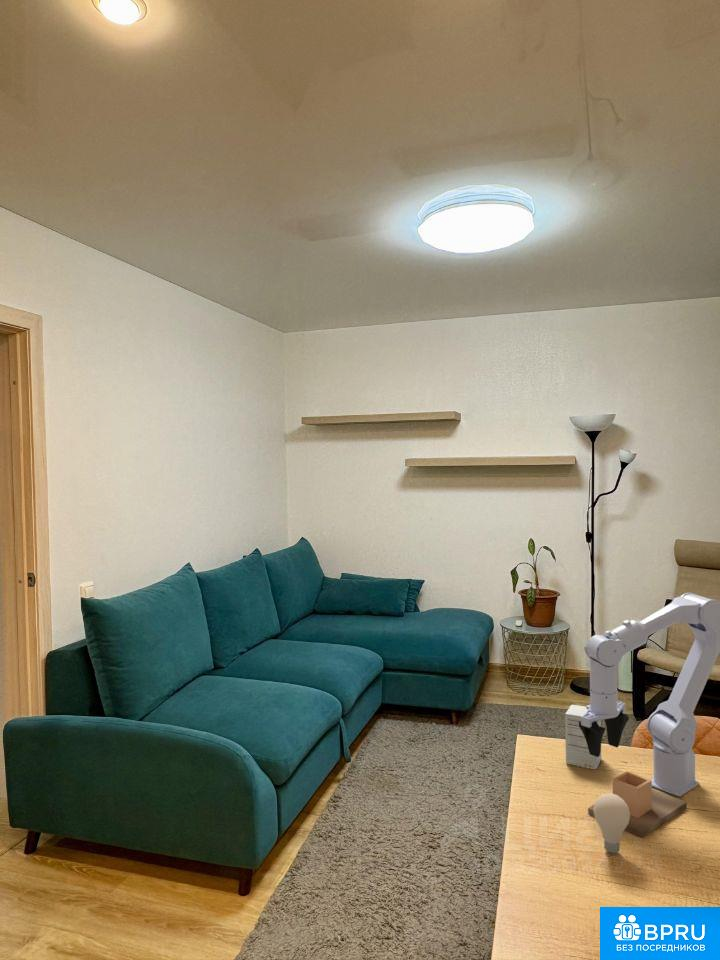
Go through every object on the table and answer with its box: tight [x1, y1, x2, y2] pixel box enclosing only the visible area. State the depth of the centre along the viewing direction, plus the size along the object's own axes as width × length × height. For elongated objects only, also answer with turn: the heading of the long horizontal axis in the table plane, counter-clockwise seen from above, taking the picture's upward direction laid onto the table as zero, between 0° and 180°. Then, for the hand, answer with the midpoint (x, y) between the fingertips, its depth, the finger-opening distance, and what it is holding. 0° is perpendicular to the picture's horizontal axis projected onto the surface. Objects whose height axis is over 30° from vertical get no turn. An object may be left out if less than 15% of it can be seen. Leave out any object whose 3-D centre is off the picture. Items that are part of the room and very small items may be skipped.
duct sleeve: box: [612, 770, 653, 818], centre depth 141 cm, size 6×6×6 cm
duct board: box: [587, 788, 688, 838], centre depth 142 cm, size 18×12×5 cm, turn 128°
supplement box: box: [564, 704, 602, 770], centre depth 166 cm, size 7×7×13 cm
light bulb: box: [593, 792, 630, 854], centre depth 127 cm, size 7×7×11 cm
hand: (604, 750), depth 150 cm, fingers open, 7 cm apart
